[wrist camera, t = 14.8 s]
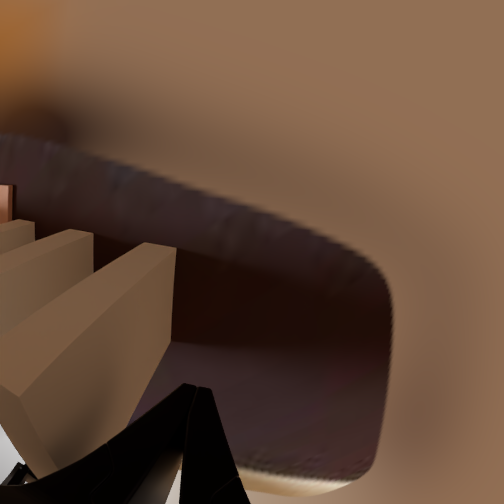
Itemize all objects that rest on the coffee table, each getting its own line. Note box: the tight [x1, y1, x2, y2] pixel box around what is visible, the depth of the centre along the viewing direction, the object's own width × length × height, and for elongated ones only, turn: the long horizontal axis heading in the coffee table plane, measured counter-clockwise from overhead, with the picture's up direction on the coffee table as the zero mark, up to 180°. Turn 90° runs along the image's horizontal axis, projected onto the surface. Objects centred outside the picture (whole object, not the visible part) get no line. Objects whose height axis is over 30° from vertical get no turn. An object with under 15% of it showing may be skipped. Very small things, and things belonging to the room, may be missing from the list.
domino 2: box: [0, 229, 94, 338], centre depth 8 cm, size 2×5×10 cm, turn 171°
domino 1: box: [0, 242, 177, 479], centre depth 8 cm, size 2×5×10 cm, turn 171°
